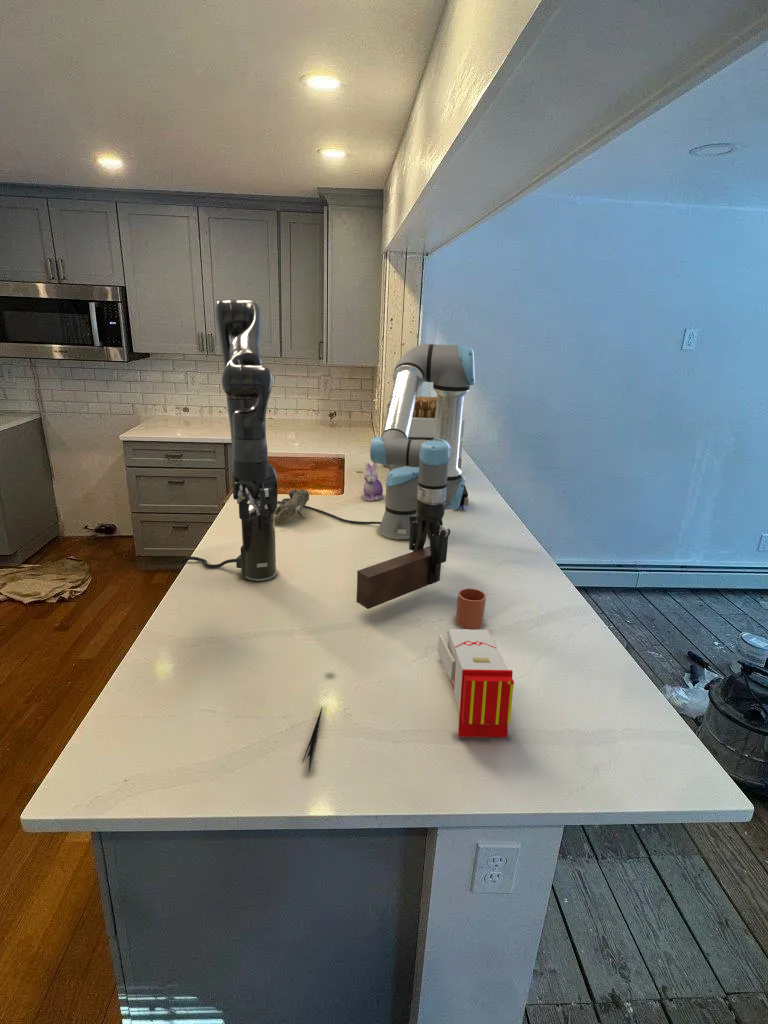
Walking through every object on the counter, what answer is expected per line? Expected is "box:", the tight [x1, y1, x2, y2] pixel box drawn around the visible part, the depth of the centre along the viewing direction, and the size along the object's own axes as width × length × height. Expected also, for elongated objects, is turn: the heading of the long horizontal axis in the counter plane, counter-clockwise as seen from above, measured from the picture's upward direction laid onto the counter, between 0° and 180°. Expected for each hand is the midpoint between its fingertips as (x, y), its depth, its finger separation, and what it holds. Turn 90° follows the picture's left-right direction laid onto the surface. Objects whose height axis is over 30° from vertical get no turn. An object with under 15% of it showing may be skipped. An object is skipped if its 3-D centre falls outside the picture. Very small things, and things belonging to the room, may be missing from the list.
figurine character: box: [455, 484, 470, 511], centre depth 230 cm, size 7×8×15 cm
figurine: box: [362, 462, 384, 502], centre depth 233 cm, size 9×10×15 cm
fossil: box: [275, 488, 310, 526], centre depth 210 cm, size 22×10×15 cm
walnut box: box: [356, 545, 442, 610], centre depth 150 cm, size 26×5×9 cm, turn 131°
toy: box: [437, 628, 515, 738], centre depth 117 cm, size 12×13×30 cm
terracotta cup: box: [455, 587, 487, 630], centre depth 144 cm, size 7×7×8 cm
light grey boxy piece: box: [383, 395, 465, 472], centre depth 268 cm, size 34×33×41 cm
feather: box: [301, 673, 332, 771], centre depth 108 cm, size 2×28×2 cm
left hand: (253, 524), depth 132 cm, fingers open, 8 cm apart
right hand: (425, 579), depth 158 cm, fingers closed on walnut box, 5 cm apart
